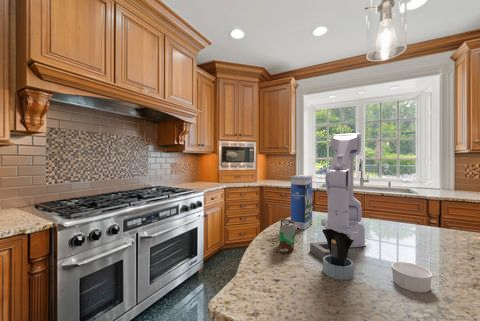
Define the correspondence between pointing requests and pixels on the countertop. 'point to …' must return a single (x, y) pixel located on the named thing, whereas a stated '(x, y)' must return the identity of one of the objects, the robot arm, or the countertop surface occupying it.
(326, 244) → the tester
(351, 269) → the grey round bowl
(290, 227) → the food container
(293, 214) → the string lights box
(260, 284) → the countertop surface
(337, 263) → the battery cell
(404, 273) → the ramekin
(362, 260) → the countertop surface
